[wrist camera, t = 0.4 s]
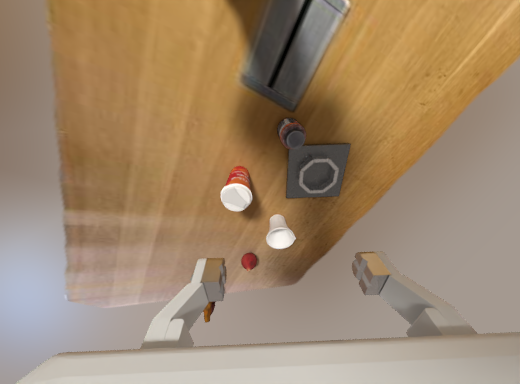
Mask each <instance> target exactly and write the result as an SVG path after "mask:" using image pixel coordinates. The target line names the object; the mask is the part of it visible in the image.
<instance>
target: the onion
mask: <svg viewBox="0 0 520 384" xmlns="http://www.w3.org/2000/svg"><path fill="white" fill-rule="evenodd" d="M241 262H242V266H243V267H244V268H245V269H247V271H250V270H251V269H253V268H254V267H255V266H256V262H257V259H256V256H255V255H254V254H252V253H247V254H245V255H244V256H243V257H242V260H241Z"/></svg>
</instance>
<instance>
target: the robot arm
mask: <svg viewBox="0 0 520 384" xmlns="http://www.w3.org/2000/svg"><path fill="white" fill-rule="evenodd" d="M355 258H356V260H354V261H353V263H352V270H353V273H354V275H355V277H356V278H357V279H358V280H360V281H359V285H360V287H361V289H362V291H363V293H364V294H365V295H379V296H380V297H381V298H382V299H383V300H385V301H386V302H387V303H388V304H389V305H390V306H391V307H392V308H394V309H395V310H396V311H397V312H398V313H399V314H400V315H401V316H402V317H403V318H404V319H406V320H407V321H408V322H409V323H410V324H411V327H410V328H409V329H408V330H407V335H408V337H399V338H378V339H355V340H354V339H353V340H331V341H309V342H287V343H265V344H243V345H221V346H199V347H193V344H194V342H193V340H192V338H191V336H190V333H189V330H190V328H191V327H192V326H193V324H194V323H195V321H196V320H197V319H198V317H199V316H200V314H201V313H202V311H203V310H204V309H205V307H206V306H207V304H208V303H209V302H213V301H223V298H224V291H225V289H224V284H225V283H226V266H224V265H225V260H224V258H200V259H199V260H198V261H197V264H196V267H195V271H194V274H193V277H192V280H191V284H187V285H186V286H185V287H184V288H183V289H182V290H181V291H180V292H179V293H178V294H177V295H176V296H175V297H174V298H173V299H172V300H171V301H170V302H169V303H168V304H167V306H165V308H163V310H161V312H159V313H158V314H157V315H156V316H155V318H153V320H152V323H151V325H150V327H149V330H148V333H147V334H146V337H145V339H144V341H143V344H142V346H141V348H140V349H133V350H111V351H91V352H90V351H89V352H66V353H60V354H57V355H54V356H52V357H51V358H49V359H48V360H46V361H45V362H44V363H42V364H41V365H39V366H38V367H37V368H35V369H34V370H32V371H31V372H30V373H28V374H27V375H26V376H25V377H23V378H22V379H21V380H19V381H18V382H17V383H15V384H520V332H511V333H510V332H509V333H486V334H477V332H476V331H475V330H474V329H473V328H472V327H471V326H470V325H469V323H468V322H467V321H466V320H465V319H464V318H463V317H462V316H461V314H460V313H459V312H458V311H457V310H456V309H455V307H453V306H452V305H451V304H449V303H447V302H446V301H444V300H443V299H441V298H440V297H438V296H436V295H435V294H433V293H432V292H430V291H428V290H427V289H425V288H424V287H422V286H421V285H419V284H417V283H416V282H414V281H413V280H411V279H409V278H408V277H406V276H405V275H401V274H400V273H399V271H398V270H397V269H396V267H395V266H394V265H393V263H392V262H391V261H390V259H389V258H388V257H387V256H386V254H385V253H384V252H358V253H356V255H355Z"/></svg>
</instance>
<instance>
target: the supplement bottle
mask: <svg viewBox="0 0 520 384" xmlns="http://www.w3.org/2000/svg"><path fill="white" fill-rule="evenodd" d="M277 132H278V135H279V138H280V140H281V142H282V144H283V145H284V146H285V147H286V148H288V149H298V148H300V147H301V146H302V145H303V144H304V142H305V140H306V131H305V129H304V127H303V126H302V125H301V124H300V123H298V121H296V120H295V119H293V118H285V119H283V120H282V121H281V122H280V123H279V125H278V128H277Z"/></svg>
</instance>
